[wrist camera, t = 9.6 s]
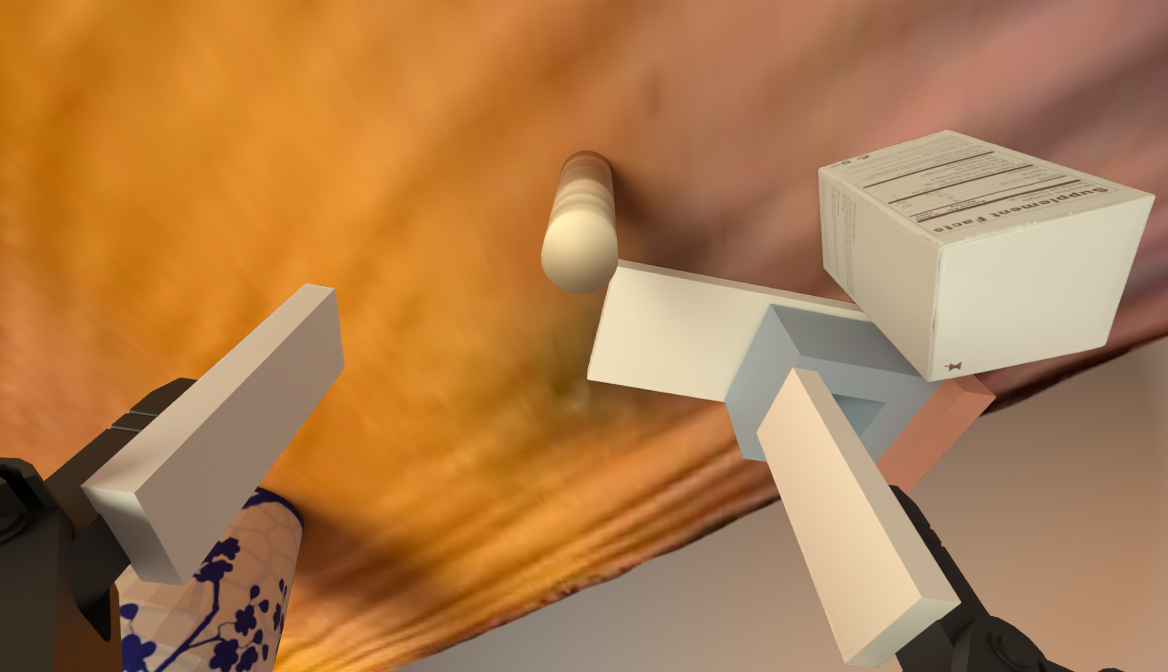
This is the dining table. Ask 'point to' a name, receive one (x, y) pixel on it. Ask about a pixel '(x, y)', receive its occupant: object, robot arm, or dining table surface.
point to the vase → (218, 599)
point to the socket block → (827, 376)
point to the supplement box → (978, 251)
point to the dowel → (582, 226)
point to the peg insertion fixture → (744, 352)
